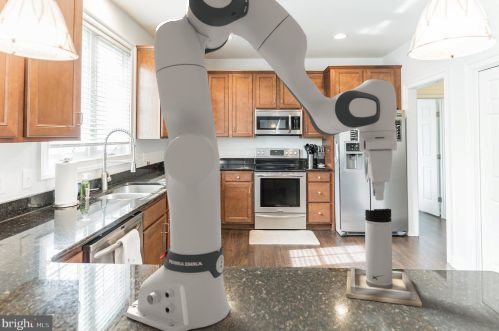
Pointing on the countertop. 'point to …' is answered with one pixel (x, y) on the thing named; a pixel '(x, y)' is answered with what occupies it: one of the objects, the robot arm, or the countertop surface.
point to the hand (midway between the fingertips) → (377, 198)
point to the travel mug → (378, 248)
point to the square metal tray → (397, 294)
